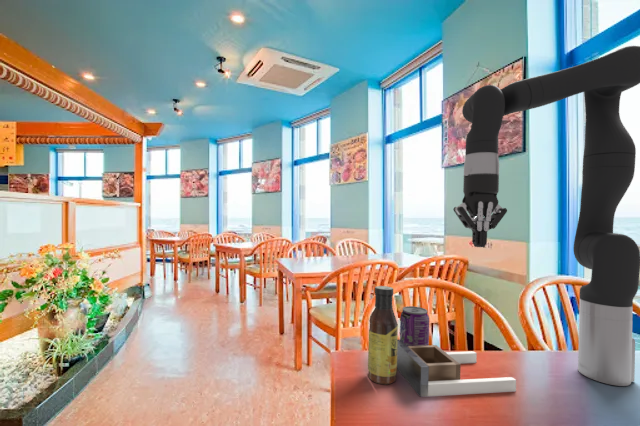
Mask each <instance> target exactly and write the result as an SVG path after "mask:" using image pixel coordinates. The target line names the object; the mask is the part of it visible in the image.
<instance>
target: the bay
mask: <svg viewBox="0 0 640 426" xmlns="http://www.w3.org/2000/svg"><path fill="white" fill-rule="evenodd" d="M446 353H447V354H448V355H449V356H451V357H452V358H453V359H454V360H456V361H457V362H458V363H460V364H461V365H462V364H476V363H477V360H478V359H477V356H478V355H477V354H478V353H477V352H476V351H474V350H473V351H471V350H470V351H469V350H468V351H448V352H447V351H446ZM397 371H398V372H399V373H400V374H401V375H402V376H403V378H404V379H405V380H406V381H407V383H409V385H410V386H411V387H412V388H413V390H414V391H415V393H417V395H418V396H419V397H420V398H423V397H424V398H427V397H442V396H443V397H445V396H459V395H476V394H494V393H496V394H497V393H511V392H517V379H516V378H514V377H513V376H507V377H506V376H505V377H489V378H488V377H487V378H486V377H485V378H467V379H460V380H445V381H428V376H429V367H428V366H427V365H426V364H425V363H424V362H423V361H422V360H421V359H420V358H419V357H418V356H417V355H416V354H415V353H414V352H413V351H412V350H411V349H410V348H409V347H408V346H407V345H406V344H405V343H403V342H402V341H401V340H400V338H398V343H397Z"/></svg>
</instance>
